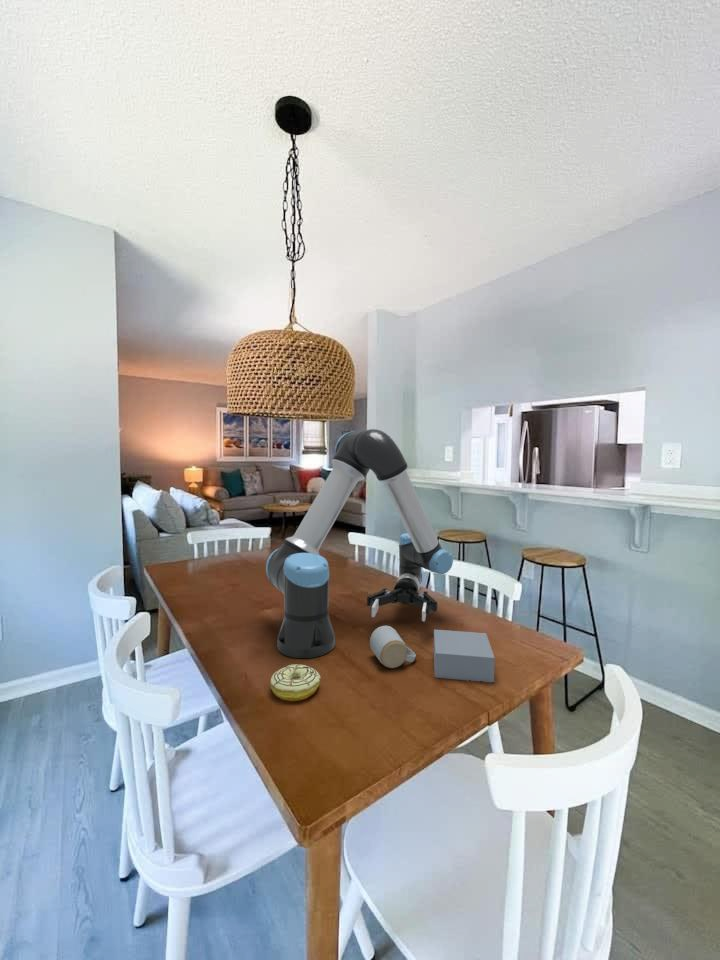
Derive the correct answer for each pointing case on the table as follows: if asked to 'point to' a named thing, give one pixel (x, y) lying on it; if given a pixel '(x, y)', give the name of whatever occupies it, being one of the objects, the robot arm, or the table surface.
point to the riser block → (463, 656)
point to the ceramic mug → (390, 647)
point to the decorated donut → (295, 682)
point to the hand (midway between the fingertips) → (397, 614)
